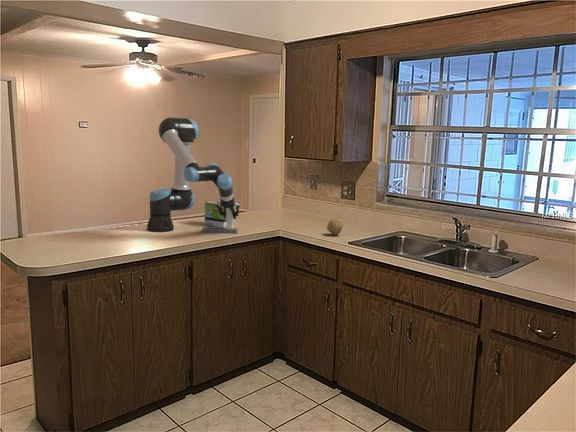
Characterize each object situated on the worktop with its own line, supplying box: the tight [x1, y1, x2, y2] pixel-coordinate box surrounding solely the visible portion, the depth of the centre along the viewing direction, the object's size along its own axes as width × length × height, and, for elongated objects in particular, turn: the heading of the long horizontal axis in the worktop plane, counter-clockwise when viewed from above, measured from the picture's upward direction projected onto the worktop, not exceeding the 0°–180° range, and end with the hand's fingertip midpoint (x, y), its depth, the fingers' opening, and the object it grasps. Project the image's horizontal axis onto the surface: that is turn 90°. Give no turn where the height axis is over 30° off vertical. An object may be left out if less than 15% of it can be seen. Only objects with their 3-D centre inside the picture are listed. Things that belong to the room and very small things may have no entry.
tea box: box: [204, 200, 227, 228], centre depth 293 cm, size 15×10×15 cm, turn 62°
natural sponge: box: [326, 218, 344, 236], centre depth 276 cm, size 9×9×10 cm
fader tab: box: [225, 208, 235, 229], centre depth 272 cm, size 5×4×13 cm
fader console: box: [201, 226, 239, 235], centre depth 274 cm, size 20×6×2 cm, turn 89°
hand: (230, 221), depth 276 cm, fingers closed on fader tab, 3 cm apart
